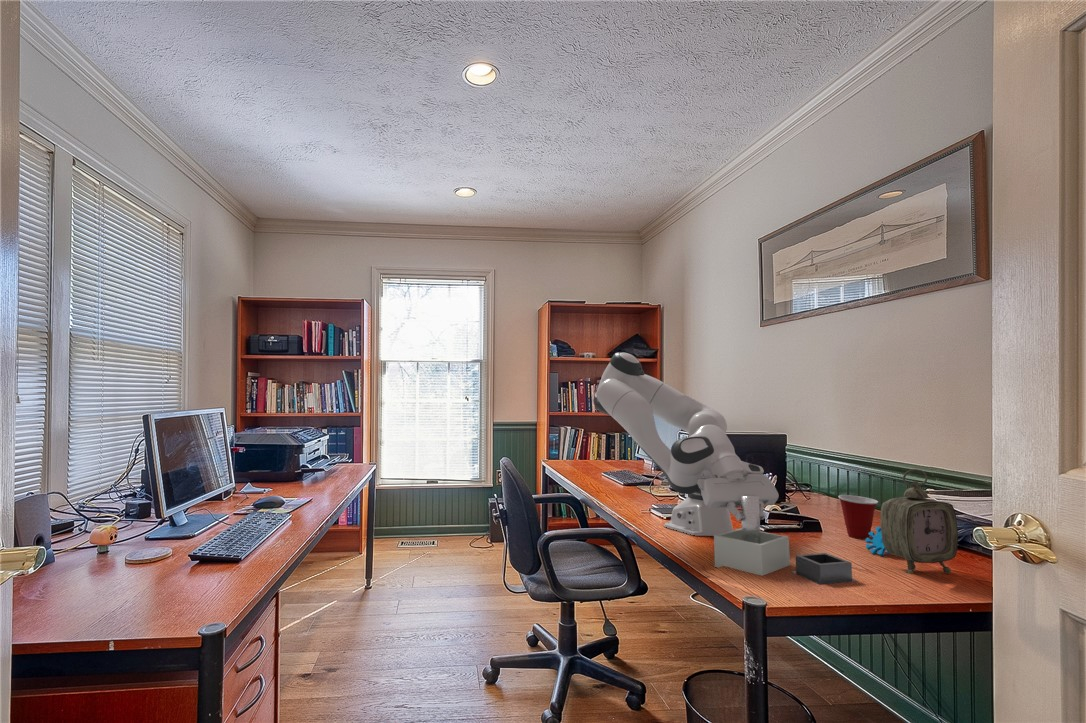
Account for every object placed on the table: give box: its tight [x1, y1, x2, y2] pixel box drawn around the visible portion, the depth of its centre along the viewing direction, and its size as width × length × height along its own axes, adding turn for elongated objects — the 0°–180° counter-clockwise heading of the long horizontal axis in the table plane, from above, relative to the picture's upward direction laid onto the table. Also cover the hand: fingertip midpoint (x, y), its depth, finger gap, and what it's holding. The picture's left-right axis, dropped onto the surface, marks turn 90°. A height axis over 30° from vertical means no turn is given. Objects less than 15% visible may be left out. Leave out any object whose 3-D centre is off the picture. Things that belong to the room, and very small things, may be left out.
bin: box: [713, 527, 791, 576], centre depth 143 cm, size 13×13×8 cm
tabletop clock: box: [880, 468, 959, 575], centre depth 139 cm, size 14×9×25 cm, turn 101°
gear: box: [864, 526, 891, 557], centre depth 155 cm, size 11×6×10 cm
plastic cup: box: [837, 494, 879, 540], centre depth 174 cm, size 11×11×12 cm
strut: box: [740, 495, 761, 544], centre depth 143 cm, size 5×5×14 cm
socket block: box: [791, 552, 858, 586], centre depth 133 cm, size 10×10×5 cm
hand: (751, 519), depth 143 cm, fingers closed on strut, 4 cm apart
